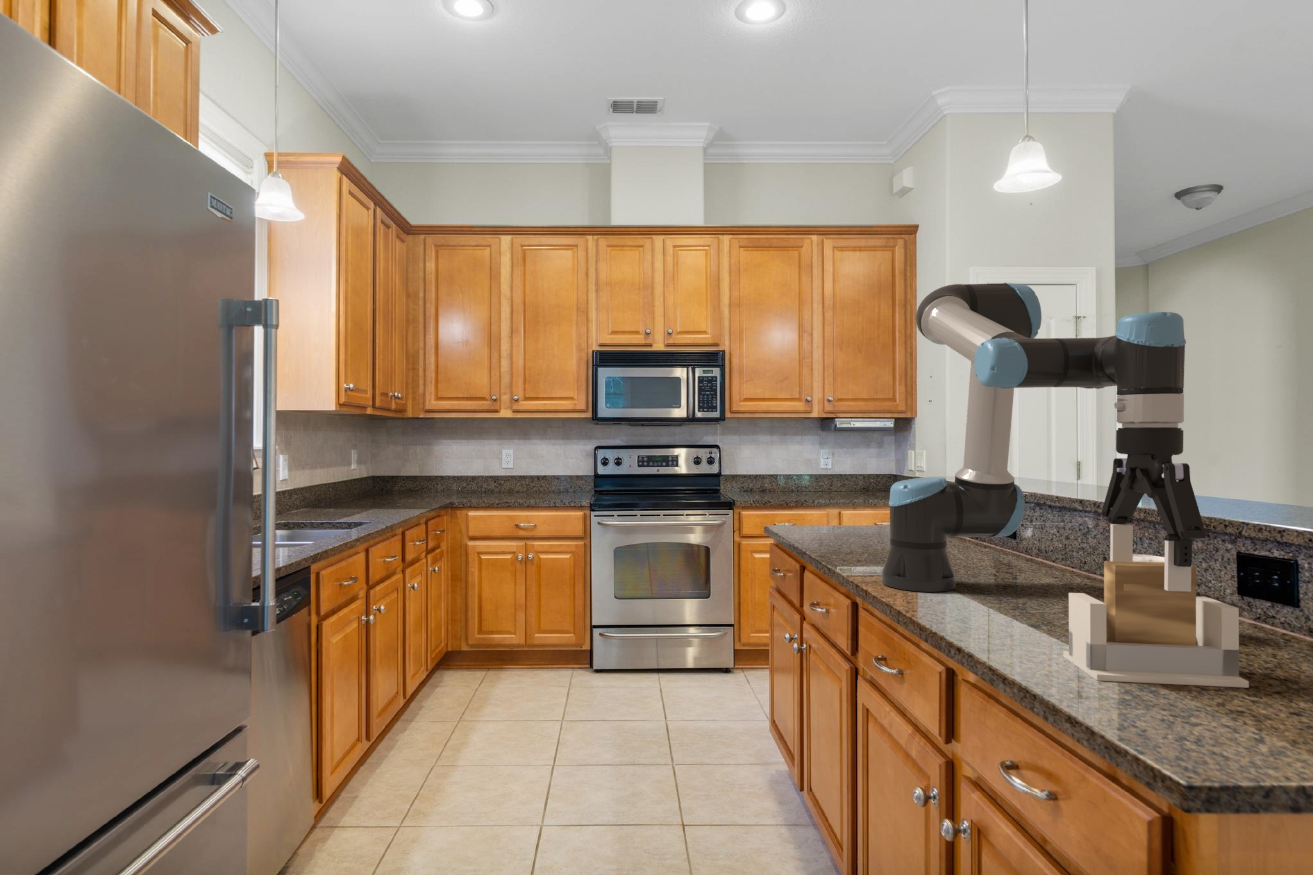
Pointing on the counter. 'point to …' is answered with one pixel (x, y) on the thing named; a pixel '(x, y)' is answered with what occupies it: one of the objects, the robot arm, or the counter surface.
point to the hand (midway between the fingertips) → (1147, 578)
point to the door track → (1157, 648)
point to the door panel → (1147, 605)
